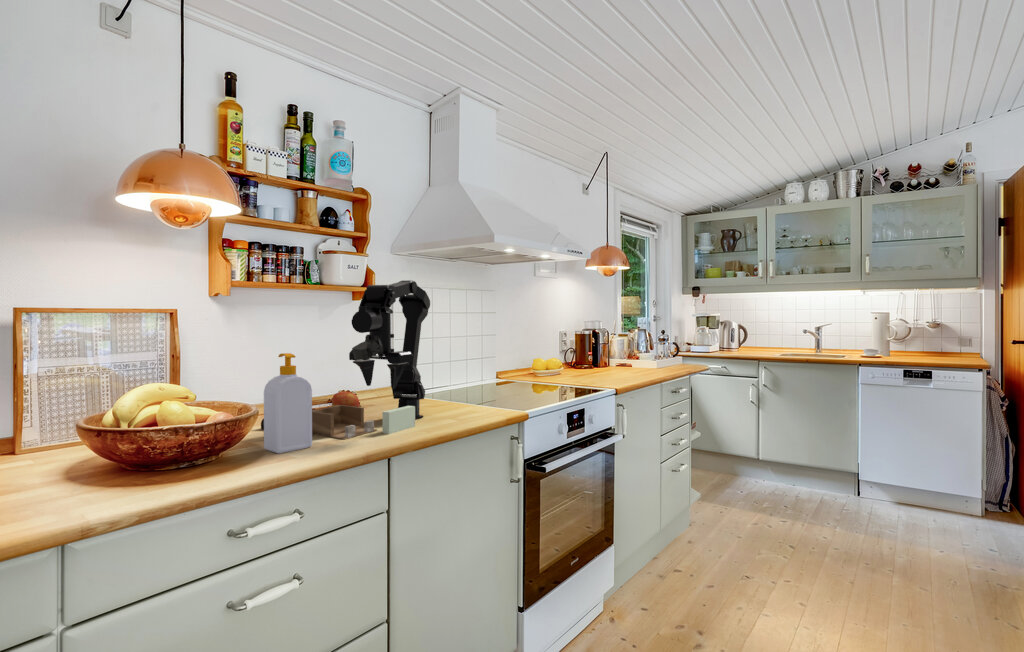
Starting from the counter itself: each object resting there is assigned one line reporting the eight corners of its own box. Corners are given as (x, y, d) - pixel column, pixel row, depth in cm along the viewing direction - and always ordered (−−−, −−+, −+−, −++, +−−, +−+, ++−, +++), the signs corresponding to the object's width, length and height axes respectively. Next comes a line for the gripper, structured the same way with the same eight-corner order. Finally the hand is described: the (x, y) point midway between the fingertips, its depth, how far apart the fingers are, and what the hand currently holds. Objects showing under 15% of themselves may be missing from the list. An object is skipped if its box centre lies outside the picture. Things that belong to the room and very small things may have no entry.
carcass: (340, 425, 154) (340, 404, 154) (377, 430, 148) (377, 409, 148) (307, 433, 144) (307, 411, 144) (344, 439, 137) (344, 416, 137)
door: (408, 426, 154) (408, 405, 154) (415, 427, 153) (415, 406, 153) (382, 433, 145) (382, 411, 145) (389, 434, 144) (389, 412, 144)
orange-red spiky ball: (332, 414, 170) (331, 390, 170) (359, 413, 172) (359, 389, 172) (330, 419, 162) (330, 393, 162) (359, 418, 165) (359, 392, 164)
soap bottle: (297, 442, 134) (297, 351, 133) (312, 446, 130) (312, 353, 129) (262, 449, 127) (261, 353, 126) (276, 454, 123) (276, 355, 122)
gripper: (333, 331, 143) (334, 388, 144) (384, 333, 134) (385, 394, 135) (363, 329, 153) (364, 382, 154) (413, 331, 143) (414, 388, 144)
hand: (380, 387), depth 146 cm, fingers open, 9 cm apart
